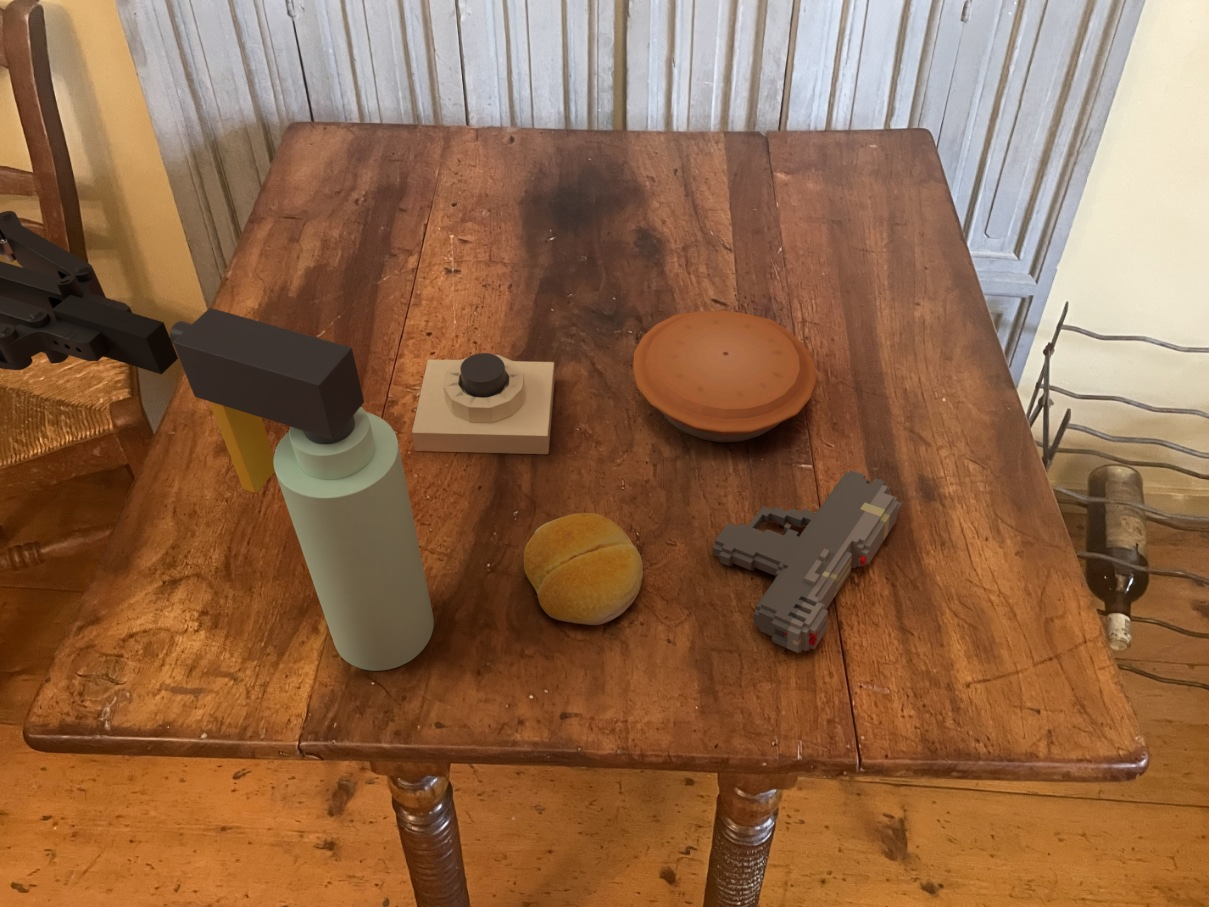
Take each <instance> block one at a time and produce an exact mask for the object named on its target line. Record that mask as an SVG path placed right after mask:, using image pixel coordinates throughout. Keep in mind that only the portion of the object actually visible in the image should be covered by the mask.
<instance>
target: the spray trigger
mask: <svg viewBox="0 0 1209 907" xmlns="http://www.w3.org/2000/svg"><path fill="white" fill-rule="evenodd" d="M208 402H209V404H210V407H211V410H212V413H213V415H214V418H215V419H216V423H217V425H218V428H219V430H220V433H221V436H222V438H223V441H224V443H225V444H224V445H225V446H226V449H227V451H228V454H229V456H230V460H231V462H232V464H233V467H234V469H235V472H236V475H237V477H238V480H239V482H240V485H241V488H242V490H244V491H247V492H249V493H250V492H251V493H253V494H257V493H258V492H259V491H260V490H261V489H262V488H263V486H264V485H265V484H266V483H267V481H268V480H269V479H270V478H271V476H272V475H273V474H274V473H275V470H274V454H275V453H274V451H273V449H272V446H271V443H270V439H269V437H268V434H267V430H266V428H265V425H264V422H263V418H262V417H259V416H255V415H252V414H249V413H246V412H242V411H239V410H236V409H233V408H229V407H226V406H223V405H220V404H217V403H213V402H210V401H208Z"/></svg>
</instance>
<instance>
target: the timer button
mask: <svg viewBox="0 0 1209 907" xmlns="http://www.w3.org/2000/svg"><path fill="white" fill-rule="evenodd" d="M496 355H497V354H494V353H490V352H489V353H487V352H480V353H479V352H478V353H475V354H472V355H469V356H468V357H466V358H467V359H465V358H464V359H465V360H464V361H463V363H462V365H461V368H460V370H461V378H462V386H463V388H464V390H465V391H466V392H467V393H468V394H470V395H472V396H475V397H481V398H485V397H491V396H494V395H496V394H498V393H499V392H501V391H502V390H503V388H504V387H505V384H506V376H505V365H504V362H503V361H502V360H501V359H500V358H499V357H498V356H496Z"/></svg>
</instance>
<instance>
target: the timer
mask: <svg viewBox="0 0 1209 907" xmlns="http://www.w3.org/2000/svg"><path fill="white" fill-rule="evenodd" d="M495 355H496V356H498V357H499V358H500V359H501V360H502V361H503V362H504V365H505V376H506V384H505V387H504V388H503V390H502V391H501V392H499V393H498V394H496V395H494V396H491V397H485V398H481V397H475V396H472V395H470V394H468V393H467V392H466V391H465V390H464V388H463V386H462V378H461V370H460V368H461V365H462V363H463V361H464V360H465V359H467V358H468V357H465V358H462V359H441V358H440V359H436V358H435V359H434V358H428V359H427V362H426V365H425V366H426V367H425V371H424V375H423V380H422V384H421V389H420V394H419V398H418V402H417V407H416V412H415V416H414V420H413V424H412V429H411V436H412V441H413V446H414V451H415V452H434V453H435V452H437V453H438V452H439V453H441V452H442V453H475V454H476V453H479V454H518V455H519V454H520V455H549V453H550V443H551V442H550V441H551V430H552V420H553V418H552V417H553V405H554V395H555V382H556V378H555V373H556V372H555V362H554V361H525V360H523V361H521V360H519V361H518V360H512V359H510V358H506V357H505V356H502V355H500V354H495Z"/></svg>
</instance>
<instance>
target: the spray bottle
mask: <svg viewBox="0 0 1209 907" xmlns="http://www.w3.org/2000/svg"><path fill="white" fill-rule="evenodd" d="M169 337H170V340H171V342H172V344H173V347H174V349H175V352H176V354H177V357H178V359H179V362H180V364H181V367H182V369H183V372H184V374H185V377H186V379H187V381H188V384H189V386H190V389H191V391H192V394H193V397H195V398H198V399H200V400H204V401H207V402H209V401H210V402H213V403H217V404H220V405H223V406H226V407H229V408H233V409H236V410H239V411H242V412H246V413H249V414H252V415H255V416H259V417H261V418H262V419H265V420H269V421H272V422H274V423H275V422H276V423H278V424H282V425H284V426H288V427H289V430H288V431H287V432H286V433H285V434H284V435H283V437H282V438H281V439H280V440H279V442H278V444H277V446H276V448H275V451H274V453H273V454H274V470H275V472H274V473H275V475H276V480H277V481H278V485H279V487H280V490H281V493H282V496H283V499H284V502H285V505H286V507H287V511H288V514H289V517H290V519H291V522H292V525H293V528H294V532H295V534H296V537H297V540H298V542H299V546H300V548H301V551H302V554H303V557H304V560H305V563H306V566H307V569H308V572H309V574H310V577H311V580H312V583H313V586H314V589H315V592H316V596H317V598H318V601H319V604H320V607H321V609H322V613H323V616H324V618H325V621H326V624H327V628H328V630H329V633H330V636H331V638H332V642H333V644H334V647H335V650H336V651H337V653H338V655H339V656H340V657H341V658H342V659H343V660H344V661H345V662H346V663H348V664H350V665H351V666H352V667H355V668H358V669H361V670H365V671H372V672H373V671H375V672H379V671H388V670H392V669H393V670H394V669H395V668H398V667H401V666H403V665H405V664H407V663H409V662H411V661H412V660H414V659H415V658H416V657H417V656H419V654H421V652H422V651H423V650H425V648H426V647H427V645H428V644H429V642H430V639H431V637H432V635H433V632H434V626H435V619H434V613H433V608H432V603H431V597H430V593H429V588H428V584H427V579H426V574H425V568H424V563H423V558H422V552H421V548H420V543H419V538H418V534H417V529H416V523H415V519H414V514H413V513H414V512H413V509H412V504H411V500H410V495H409V494H410V493H409V488H408V484H407V479H406V474H405V469H404V464H403V460H402V456H401V455H402V454H401V448H400V445H399V440H398V436H397V434H396V432H395V430H394V429H393V427H392V426H391V425H390V424H389V423H388V422H387V421H386V420H384V419H383V418H381V417H380V416H378V415H376V414H373V413H370V412H368V411H366V410H365V409H364V408H363V407H362V406H363V404H365V399H364V394H363V391H362V386H361V381H360V376H359V372H358V369H357V364H356V359H355V355H354V351H353V347H352V346H348V345H344V344H341V343H338V342H334V341H331V340H326V339H323V338H319V337H316V336H312V335H308V334H305V333H302V332H298V331H295V330H291V329H288V328H284V327H280V326H277V325H273V324H269V323H266V322H263V321H260V320H255V319H252V318H249V317H245V316H241V315H237V314H234V313H230V312H227V311H224V310H221V309H217V308H213V307H209V308H208V309H207V310H206V311H204V312H203V313H202V314H201V315H200V316H199V317H198V318H197V319H196V320H195V321H194V322H192V323H190V322H187V321H183V320H178V321H177V322H175V323H174V324H173V325H172V327H171V328H170V332H169ZM210 402H209V403H210Z"/></svg>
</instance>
